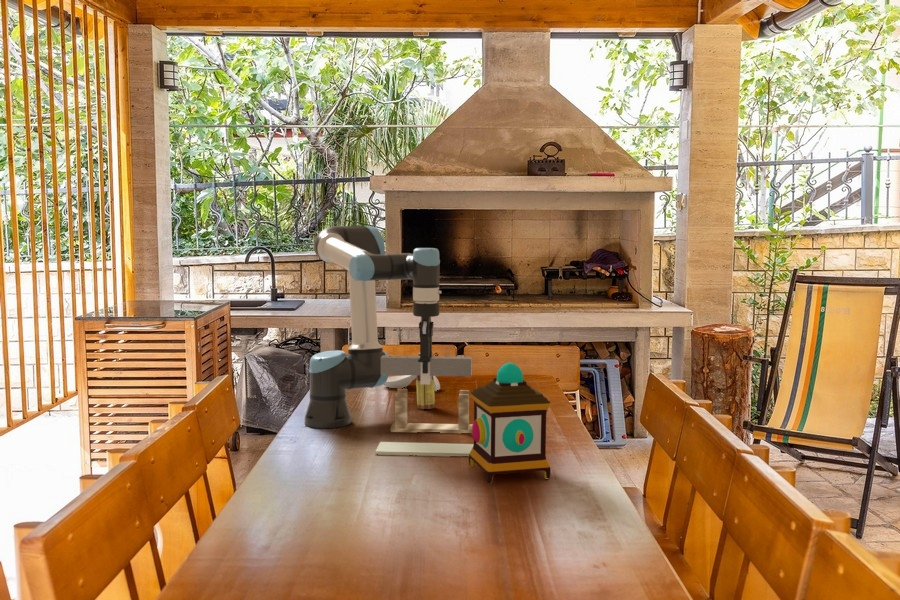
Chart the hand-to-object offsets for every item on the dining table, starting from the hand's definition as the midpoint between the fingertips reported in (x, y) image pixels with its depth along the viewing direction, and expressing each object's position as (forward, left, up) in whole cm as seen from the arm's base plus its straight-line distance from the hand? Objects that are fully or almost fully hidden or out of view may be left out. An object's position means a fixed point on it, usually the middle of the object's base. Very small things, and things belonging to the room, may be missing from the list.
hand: (426, 382), depth 245 cm
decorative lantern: (+24, -19, -21) cm, 37 cm away
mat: (0, 0, -20) cm, 20 cm away
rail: (0, 0, +2) cm, 2 cm away
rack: (0, +24, -20) cm, 32 cm away
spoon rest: (-14, +88, -21) cm, 91 cm away
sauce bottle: (-5, +54, -21) cm, 58 cm away
